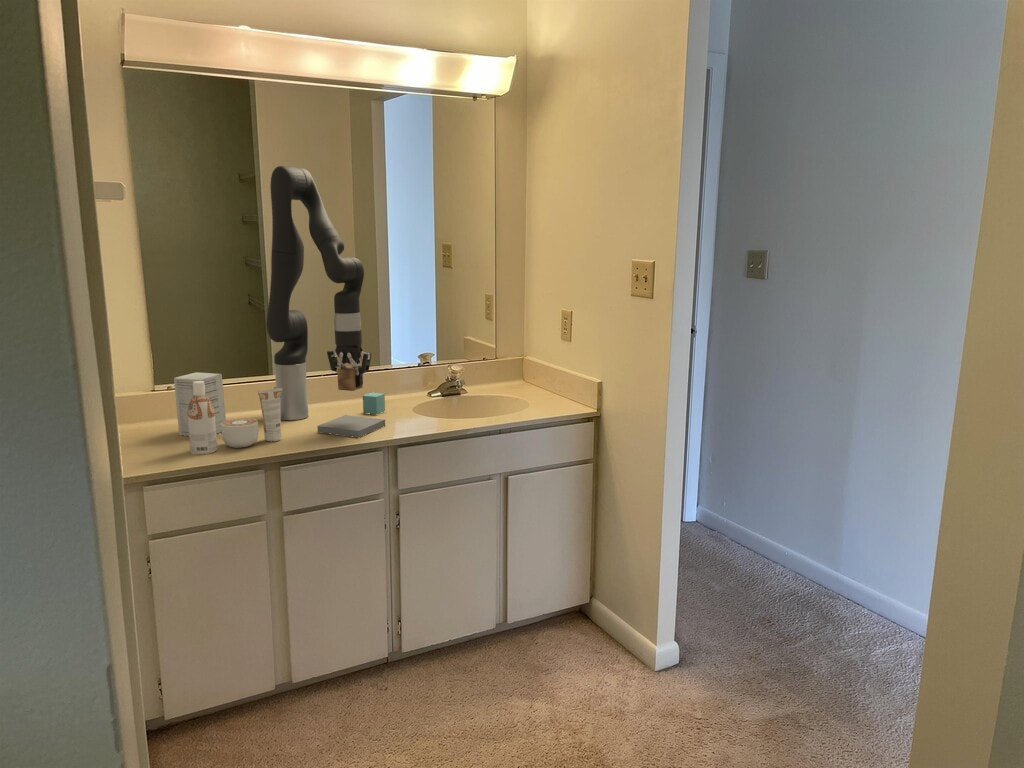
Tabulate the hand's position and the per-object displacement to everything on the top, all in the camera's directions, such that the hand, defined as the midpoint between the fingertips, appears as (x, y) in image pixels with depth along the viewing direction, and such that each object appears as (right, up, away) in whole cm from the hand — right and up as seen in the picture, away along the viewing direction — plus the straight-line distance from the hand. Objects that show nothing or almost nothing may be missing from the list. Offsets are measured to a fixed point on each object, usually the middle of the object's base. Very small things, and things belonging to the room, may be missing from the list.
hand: (350, 386), depth 215 cm
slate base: (0, -13, +3) cm, 13 cm away
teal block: (+3, -9, +23) cm, 24 cm away
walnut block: (0, -1, 0) cm, 1 cm away
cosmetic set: (-27, -16, -14) cm, 34 cm away
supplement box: (-42, -14, -2) cm, 44 cm away
